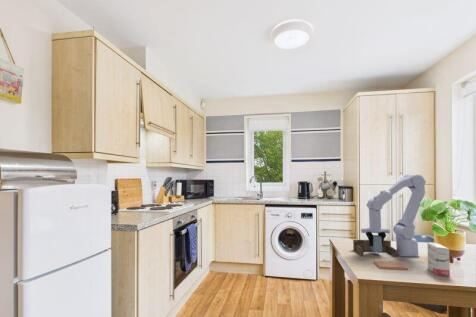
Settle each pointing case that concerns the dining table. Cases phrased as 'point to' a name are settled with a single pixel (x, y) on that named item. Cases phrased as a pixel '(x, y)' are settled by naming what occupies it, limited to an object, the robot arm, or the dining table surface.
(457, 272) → the dining table surface
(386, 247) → the wooden u-shaped rack
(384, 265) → the tile
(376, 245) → the block
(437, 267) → the ink box
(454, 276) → the dining table surface
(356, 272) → the dining table surface
